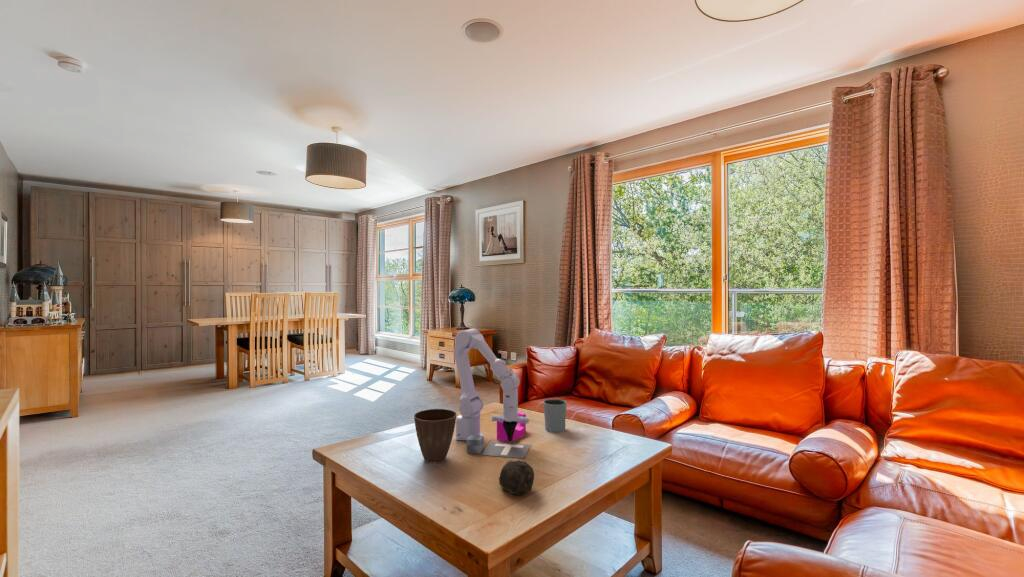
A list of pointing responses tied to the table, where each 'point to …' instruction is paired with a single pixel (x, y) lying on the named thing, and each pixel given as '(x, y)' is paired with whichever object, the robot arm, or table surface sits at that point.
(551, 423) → the gray cup
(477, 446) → the gray cube
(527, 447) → the board
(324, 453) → the table surface
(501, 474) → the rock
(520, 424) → the toy block
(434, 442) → the plant pot
